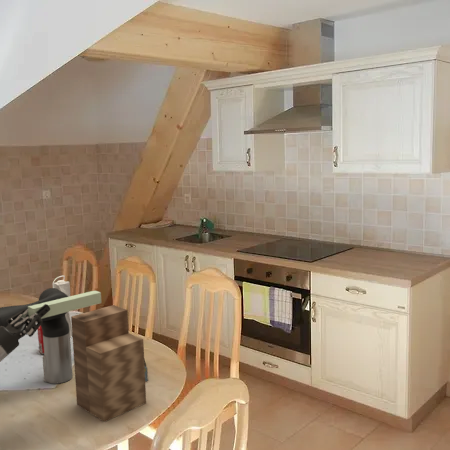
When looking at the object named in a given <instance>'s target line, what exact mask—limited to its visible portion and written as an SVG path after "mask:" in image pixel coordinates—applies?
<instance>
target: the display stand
mask: <svg viewBox="0 0 450 450" xmlns="http://www.w3.org/2000/svg"><path fill="white" fill-rule="evenodd" d="M128 311H129V310H128V309H126V308H124V307H121V306H118V305H116V304H115V305H114V304H113V305H109V306H105V307H101V308H97V309H94V310H90V311H87V312H83V313H79V314H75V315H72V316H71V315H70V320H71V327H72V349H73V367H74V378H75V380H74V381H75V393H76V405H77V406H79V407H80V408H82V409H84V410H85V411H86V412H88V413H89V414H91V415H92V416H94V417H96V418H97V419H99V420H100V421H102V422H107V421H110V420H112V419H114V418H116V417H118V416H120V415H122V414H125V413H127V412H129V411H131V410H133V409H136V408H138V407H141V406H143V405H145V404H147V394H146V393H147V392H146V387H147V386H146V381H145V365H144V359H145V349H144V347H145V346H144V344H145V343H144V338H142V337H139V336H138V335H135V334H133V333H130V332H129V315H128V314H129V313H128Z"/></svg>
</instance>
